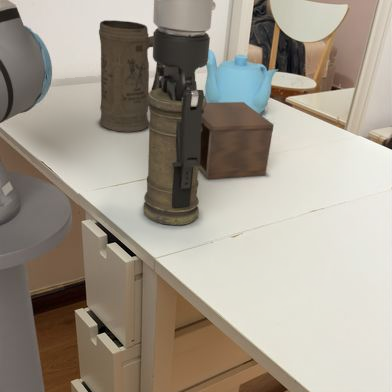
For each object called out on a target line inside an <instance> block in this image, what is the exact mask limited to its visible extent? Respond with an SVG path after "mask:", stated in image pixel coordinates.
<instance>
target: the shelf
mask: <svg viewBox="0 0 392 392" xmlns="http://www.w3.org/2000/svg"><path fill="white" fill-rule="evenodd" d="M203 110H204V114H203V117H202V123H201V125H202V132H201V154H200V166H198V170H199V171H200V172H201V173H202V174H203V175H204V176H205V178H206V179H207V180H213V179H226V178H243V177H245V178H246V177H259V176H260V177H261V176H266V173H267V167H268V162H269V156H270V155H269V154H270V150H271V143H272V138H273V132H274V131H273V130H274V127H275V126H274V123H272V122H271V121H269V120H268V119H267V118H266V117H264V116H263V115H261V113H260V114H259V113H257V112H256V111H255V110H253V109H252V108H251V107H249V106H248V105H247V104H245V103H244V102H220V103H207V104H206V106H205V108H203Z"/></svg>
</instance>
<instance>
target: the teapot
mask: <svg viewBox="0 0 392 392" xmlns="http://www.w3.org/2000/svg"><path fill="white" fill-rule="evenodd" d="M248 60H249V57H248V56H247V55H244V54H236V55H235V54H234V60H233V59H232V60H231V59H230V60H229V59H228V60H224V61H221V62H220V63H219V65H218V64H217V57H216V55H215V53H214V51H213V50H211V49H210V48H209V54H208V62H207V64H206V65H205V66H206V72H207V73H206V81H205V86H204V96H205V97H206V101H207V103H220V102H244V103H245V104H247V105H248V106H249V107H251V108H252V109H253V110H255V111H256V112H257V113H259V114H260V115H261V113H263V111H265V109H266V108H267V106H268V104H269V100H270V97H271V94H272V93H271V92H272V83H273V82H272V81H273V77H274V75H275V74H276V73H277V72H278V71H279V69H278V68H277V69H269V70H268V69H267V67H266V65H264V64H262V63H254V62H251V61H248Z"/></svg>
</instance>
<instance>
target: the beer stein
mask: <svg viewBox="0 0 392 392" xmlns="http://www.w3.org/2000/svg"><path fill="white" fill-rule="evenodd" d="M148 31H149V30H148V26H147V25H146V24H143V23H139V22H136V21H135V22H134V21H127V20H126V21H125V20H109V19H108V20H102V21H100V23H99V29H98V35H99V42H100V93H101V94H100V106H99V107H100V118H99V122H100V126H102V127H104V128H105V129H108V130H111V131H115V132H124V133H130V132H131V133H132V132H133V133H134V132H140V131H142V130H145V129H147V128H149V120H148V112H149V106H150V104H149V102H148V94H149V92H150V91H152V90H154V89H156V88H157V66H164V65H161V64H159V63H157V62H156V67H155V74H154V78H153V83H152V86H151V90H150V87H149V85H150V83H149V82H150V78H149V77H150V70H149V69H150V63H149V58H148V57H149V56H148V54H149V53H148V50H149V49H150V48H153V35H151V36H149V32H148Z"/></svg>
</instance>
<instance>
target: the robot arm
mask: <svg viewBox="0 0 392 392" xmlns="http://www.w3.org/2000/svg"><path fill="white" fill-rule="evenodd" d="M216 6H217V4H216V2H215V1H214V0H153V15H152V17H153V19H152V21H153V22H152V23H153V24H154V25H155V26H156V27H157V28H156V29H154V31H153V32H152V33H153V35H152V36H153V47H152V59H153V61H154V62H155V63H156V64H157V63H159V64H161V65H164V66H157V88H156V89H158V88H161V90H162V91H163V92H164V93H167V92H168V95H169V98H170V99H171V100H172V101H182V122H179V121H178V120H177V125H176V154H177V162H174V163H172V165H173V167H174V176H173V192H172V207H173V208H175V207H189V206H190V199H191V187H192V175H193V167H198V166H200V154H201V119H202V105H203V98H204V96H205V91H204V90H203V89H198V87H197V81H196V71H197V70H198V69H199V68H200V69H201V68H203V67H204V68H205V66H206V64H207V63H208V54H209V49H210V43H211V42H210V41H211V37H210V36H209V34H208V33H207V32H208V31H209V30H210V29H211V27H212V26H211V25H212V16H213V15H212V14H213V11H214V10H215V9H216ZM52 80H53V65H52V59H51V56H50V53H49V50H48V48H47V45H46V44H45V42H44V40H43V39H42V38H41V37H40V36H39V35H38V33H36V32H34V31H32V29H31V28H30V27H28V26H27V25H25V24H24V23H23V20H22V16H21V15H20V12H19V9H18V7H17V5H16V4H15V3H13V2H12V1H11V0H0V124H1V123H4V122H6V121H7V120H9V119H11V118H13V117H15V116H17V115H19V114H23V113H27V112H29V111H30V110H32V109H33V108H34V107H35V106H36V105H37V104H39V103H40V102H42V101H43V100H44V99H45V97H46V96H47V94H48V92H49V90H50V87H51V84H52ZM7 172H8V171H7V169H6V167H5V165H4V163H3V161H2V159H1V158H0V225H3V224H5V223H7V222H8V221H10V220H12V219H13V218H14V217H15V216H16V215H17V214H18V212H19V210H20V203H19V197H18V194H17V191H16V189H15V187H14V185H13V183H12V181H11V179H10V177H9V175H8V173H7Z"/></svg>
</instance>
